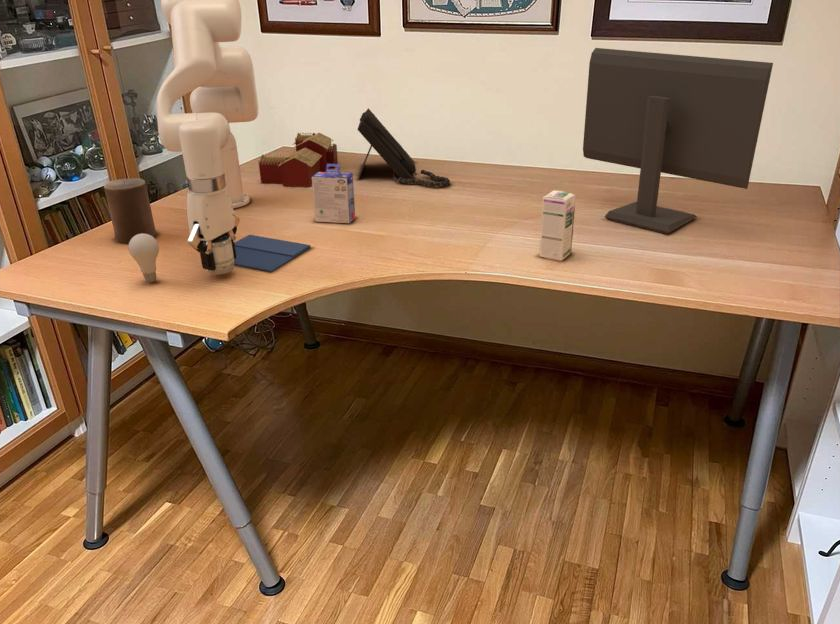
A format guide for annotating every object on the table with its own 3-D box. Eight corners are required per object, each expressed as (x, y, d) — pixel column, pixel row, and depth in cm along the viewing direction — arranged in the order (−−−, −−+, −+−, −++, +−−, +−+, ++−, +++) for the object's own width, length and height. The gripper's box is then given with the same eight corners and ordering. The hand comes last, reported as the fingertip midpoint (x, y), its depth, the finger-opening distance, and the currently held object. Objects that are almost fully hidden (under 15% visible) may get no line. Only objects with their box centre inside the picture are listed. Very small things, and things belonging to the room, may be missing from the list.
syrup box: (562, 261, 161) (567, 199, 154) (538, 256, 164) (542, 195, 157) (571, 253, 166) (577, 192, 159) (547, 248, 168) (552, 189, 161)
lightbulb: (140, 277, 157) (129, 230, 152) (168, 275, 157) (159, 228, 152) (133, 288, 152) (122, 240, 146) (162, 287, 152) (152, 238, 147)
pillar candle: (141, 245, 174) (127, 185, 167) (107, 241, 177) (93, 182, 169) (164, 231, 182) (152, 174, 175) (132, 228, 185) (119, 171, 177)
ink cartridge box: (356, 217, 190) (353, 163, 183) (350, 224, 185) (347, 169, 178) (321, 215, 192) (316, 161, 185) (314, 222, 187) (309, 167, 180)
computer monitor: (746, 230, 178) (785, 59, 158) (719, 248, 167) (757, 67, 148) (593, 195, 204) (610, 44, 184) (562, 209, 193) (576, 51, 174)
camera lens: (209, 264, 159) (203, 231, 155) (237, 263, 159) (232, 230, 155) (203, 275, 154) (197, 241, 150) (232, 274, 154) (227, 240, 150)
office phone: (450, 188, 211) (450, 118, 201) (355, 189, 212) (351, 119, 202) (448, 162, 237) (448, 99, 227) (363, 163, 237) (360, 100, 227)
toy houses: (318, 187, 214) (316, 153, 209) (253, 185, 217) (249, 152, 212) (350, 150, 253) (348, 121, 248) (294, 149, 255) (291, 120, 250)
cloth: (207, 260, 165) (207, 256, 165) (249, 237, 178) (249, 234, 177) (271, 272, 158) (270, 269, 158) (310, 248, 171) (310, 245, 171)
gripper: (219, 170, 155) (231, 247, 164) (163, 192, 142) (179, 275, 151) (247, 174, 152) (257, 252, 161) (192, 197, 139) (207, 281, 148)
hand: (219, 262), depth 156 cm, fingers closed on camera lens, 6 cm apart
